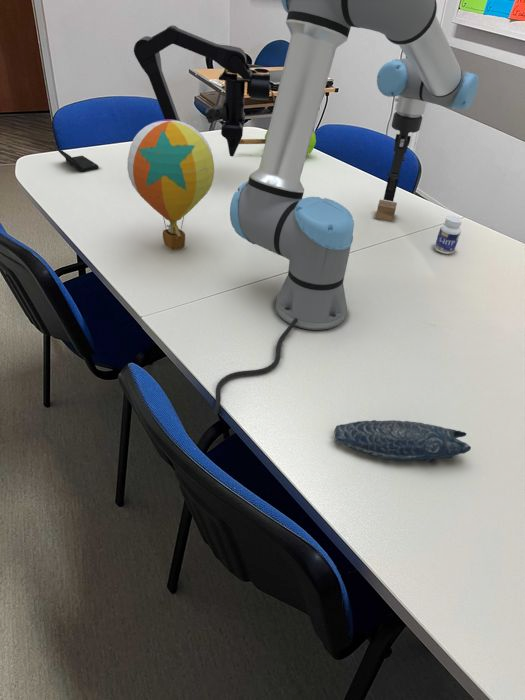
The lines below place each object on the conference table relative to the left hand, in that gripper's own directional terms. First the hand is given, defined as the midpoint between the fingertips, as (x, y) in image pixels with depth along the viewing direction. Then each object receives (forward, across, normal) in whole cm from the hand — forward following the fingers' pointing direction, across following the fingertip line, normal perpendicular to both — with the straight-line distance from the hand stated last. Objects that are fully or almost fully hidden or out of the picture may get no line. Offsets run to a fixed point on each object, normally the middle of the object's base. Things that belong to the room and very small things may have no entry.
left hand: (232, 151), depth 163 cm
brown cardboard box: (+9, +20, +47) cm, 52 cm away
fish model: (+9, +110, +34) cm, 115 cm away
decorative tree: (+9, -27, +14) cm, 32 cm away
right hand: (+2, +20, +47) cm, 51 cm away
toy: (+9, +48, -11) cm, 50 cm away
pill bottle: (+9, +39, +60) cm, 72 cm away
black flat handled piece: (+9, -2, -50) cm, 51 cm away
